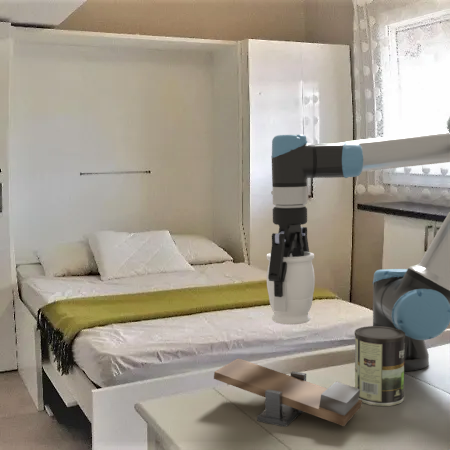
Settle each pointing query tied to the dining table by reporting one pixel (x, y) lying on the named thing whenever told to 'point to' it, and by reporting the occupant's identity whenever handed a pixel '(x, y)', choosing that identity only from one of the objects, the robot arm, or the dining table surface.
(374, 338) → the coffee can
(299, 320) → the jar
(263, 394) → the beam
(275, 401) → the pivot stand
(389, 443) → the dining table surface
